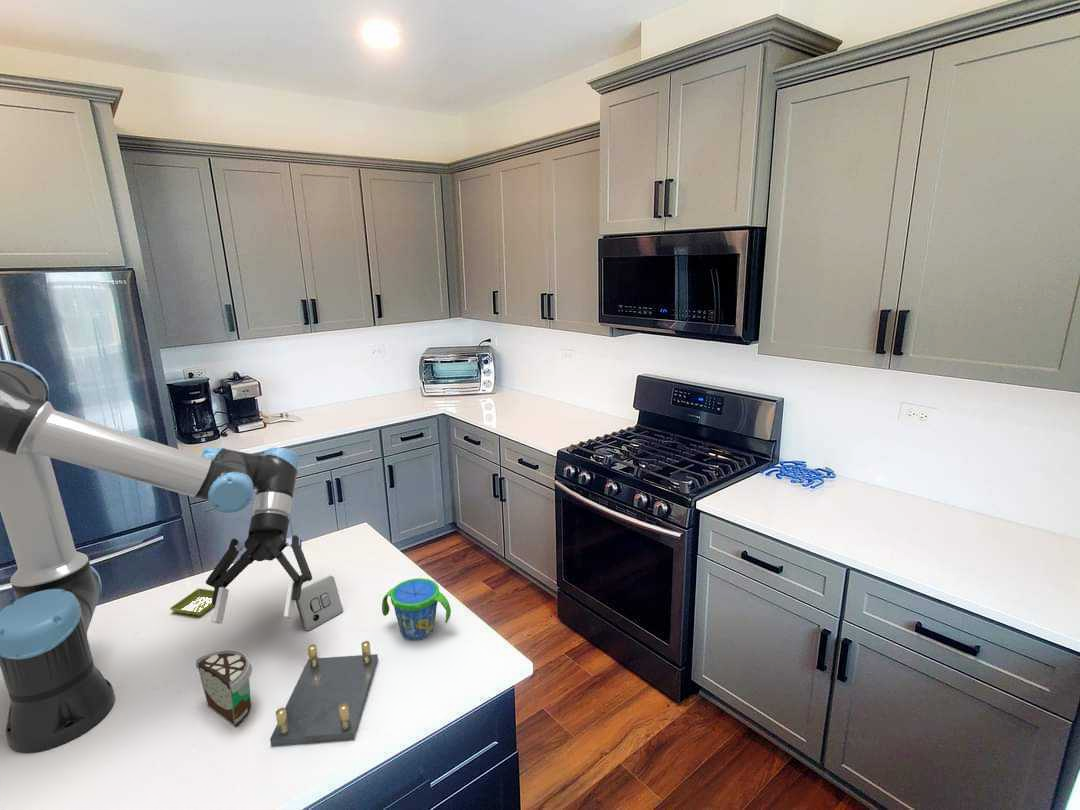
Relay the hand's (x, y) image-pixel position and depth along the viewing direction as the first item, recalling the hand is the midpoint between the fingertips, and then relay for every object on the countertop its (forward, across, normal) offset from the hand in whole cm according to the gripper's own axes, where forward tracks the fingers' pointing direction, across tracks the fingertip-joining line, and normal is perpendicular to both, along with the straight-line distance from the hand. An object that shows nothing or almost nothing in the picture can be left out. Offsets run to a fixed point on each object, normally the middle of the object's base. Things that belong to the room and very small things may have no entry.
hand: (252, 620), depth 109 cm
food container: (+15, +1, -3) cm, 15 cm away
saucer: (-9, +25, -27) cm, 38 cm away
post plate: (+15, -16, -2) cm, 22 cm away
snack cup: (+2, -30, -16) cm, 34 cm away
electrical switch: (-3, -6, -21) cm, 22 cm away
